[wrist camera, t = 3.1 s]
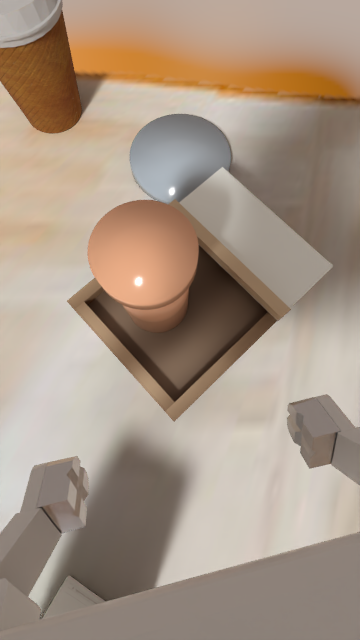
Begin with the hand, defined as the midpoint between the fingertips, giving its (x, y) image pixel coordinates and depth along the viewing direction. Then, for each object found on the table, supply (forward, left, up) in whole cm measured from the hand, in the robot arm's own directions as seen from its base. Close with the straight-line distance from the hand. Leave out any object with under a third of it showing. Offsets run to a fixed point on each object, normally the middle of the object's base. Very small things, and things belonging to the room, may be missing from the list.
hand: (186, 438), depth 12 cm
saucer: (-20, +18, -17) cm, 32 cm away
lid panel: (-7, +14, -12) cm, 19 cm away
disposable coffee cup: (-35, +12, -17) cm, 40 cm away
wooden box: (-7, +8, -17) cm, 20 cm away
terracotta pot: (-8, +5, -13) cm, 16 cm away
